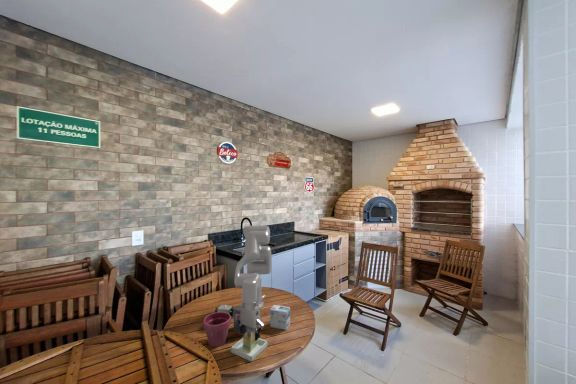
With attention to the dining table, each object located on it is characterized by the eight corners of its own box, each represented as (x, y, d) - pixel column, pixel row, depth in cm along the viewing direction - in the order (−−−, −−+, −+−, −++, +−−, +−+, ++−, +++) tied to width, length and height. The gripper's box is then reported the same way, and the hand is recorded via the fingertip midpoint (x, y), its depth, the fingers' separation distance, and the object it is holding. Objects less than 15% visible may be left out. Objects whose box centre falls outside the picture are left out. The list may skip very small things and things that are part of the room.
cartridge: (248, 343, 129) (248, 328, 129) (256, 346, 126) (256, 331, 126) (242, 349, 125) (242, 333, 124) (250, 352, 122) (250, 336, 122)
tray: (248, 338, 135) (248, 333, 135) (267, 346, 128) (267, 341, 128) (230, 352, 123) (230, 347, 123) (251, 361, 116) (251, 356, 116)
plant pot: (215, 331, 141) (215, 309, 141) (236, 337, 136) (236, 314, 135) (197, 346, 128) (197, 321, 127) (219, 353, 122) (219, 327, 122)
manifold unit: (244, 323, 149) (244, 300, 148) (257, 328, 144) (257, 304, 143) (233, 331, 141) (233, 306, 140) (246, 336, 136) (246, 310, 135)
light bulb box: (290, 324, 148) (290, 306, 148) (286, 330, 142) (286, 312, 142) (274, 321, 152) (274, 304, 152) (269, 327, 145) (269, 309, 145)
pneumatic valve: (232, 328, 144) (232, 308, 144) (214, 326, 146) (214, 306, 146) (236, 323, 149) (236, 303, 149) (218, 321, 152) (218, 302, 151)
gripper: (267, 304, 124) (267, 337, 125) (241, 296, 133) (241, 327, 133) (258, 311, 118) (258, 345, 118) (232, 302, 126) (232, 334, 127)
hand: (249, 335), depth 126 cm, fingers open, 9 cm apart
